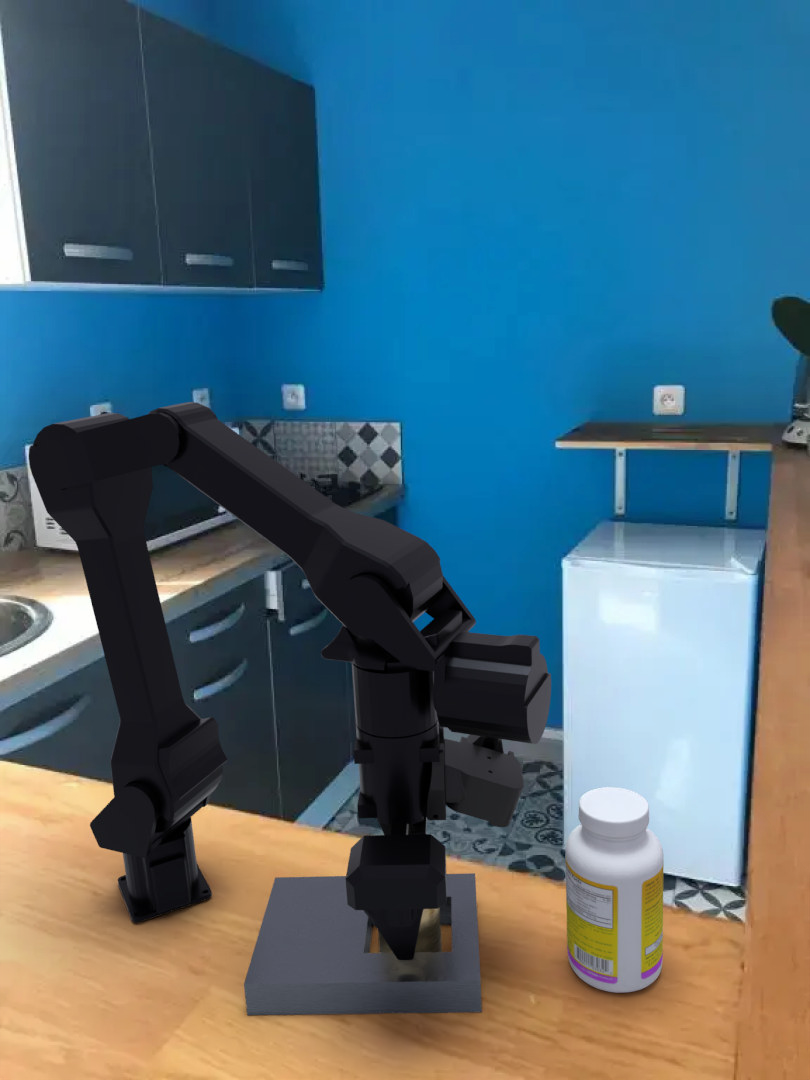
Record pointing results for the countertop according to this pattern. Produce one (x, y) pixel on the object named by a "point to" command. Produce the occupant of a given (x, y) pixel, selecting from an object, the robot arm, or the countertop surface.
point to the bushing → (423, 934)
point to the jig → (357, 956)
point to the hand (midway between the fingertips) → (408, 915)
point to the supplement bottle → (614, 892)
